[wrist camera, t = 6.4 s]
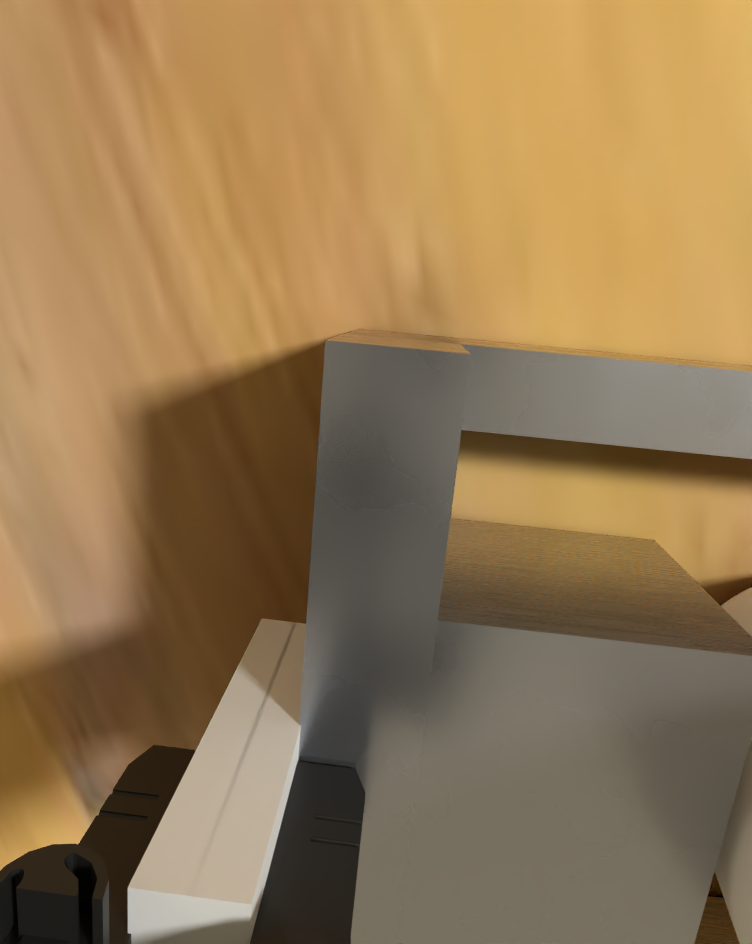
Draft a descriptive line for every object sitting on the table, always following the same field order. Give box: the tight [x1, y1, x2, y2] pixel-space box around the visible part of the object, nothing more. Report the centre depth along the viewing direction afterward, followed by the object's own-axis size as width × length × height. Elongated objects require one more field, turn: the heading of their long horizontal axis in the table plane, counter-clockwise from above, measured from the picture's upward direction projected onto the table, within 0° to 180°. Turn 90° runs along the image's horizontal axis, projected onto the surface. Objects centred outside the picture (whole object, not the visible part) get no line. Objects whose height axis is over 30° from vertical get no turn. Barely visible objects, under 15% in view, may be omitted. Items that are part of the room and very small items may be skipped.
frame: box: [298, 329, 752, 944], centre depth 13 cm, size 15×17×5 cm
